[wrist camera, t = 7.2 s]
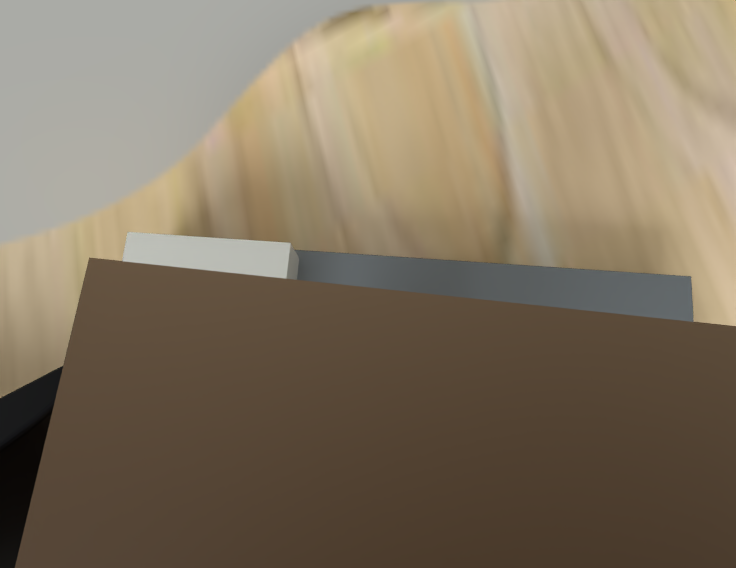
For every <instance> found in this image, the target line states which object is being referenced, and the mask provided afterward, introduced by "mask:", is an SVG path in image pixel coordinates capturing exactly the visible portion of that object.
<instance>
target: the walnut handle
mask: <svg viewBox="0 0 736 568" xmlns="http://www.w3.org/2000/svg"><path fill="white" fill-rule="evenodd" d="M15 568H736V326H728V325H719V324H709V323H700V322H690V321H681V320H671V319H662V318H653V317H643V316H634V315H624V314H615V313H605V312H596V311H587V310H577V309H568V308H558V307H549V306H539V305H530V304H521V303H511V302H502V301H492V300H483V299H473V298H464V297H455V296H445V295H436V294H426V293H417V292H408V291H398V290H389V289H379V288H370V287H360V286H351V285H342V284H332V283H323V282H313V281H304V280H294V279H285V278H276V277H266V276H257V275H247V274H238V273H228V272H219V271H210V270H200V269H191V268H181V267H172V266H163V265H153V264H144V263H134V262H125V261H115V260H106V259H97V258H89V261H88V266H87V270H86V274H85V278H84V282H83V286H82V290H81V295H80V299H79V303H78V307H77V311H76V315H75V320H74V324H73V328H72V332H71V336H70V340H69V345H68V349H67V353H66V357H65V361H64V365H63V369H62V374H61V378H60V382H59V386H58V390H57V394H56V399H55V403H54V407H53V411H52V415H51V419H50V424H49V428H48V432H47V436H46V440H45V444H44V448H43V453H42V457H41V461H40V465H39V469H38V473H37V478H36V482H35V486H34V490H33V494H32V498H31V502H30V507H29V511H28V515H27V519H26V523H25V527H24V532H23V536H22V540H21V544H20V548H19V552H18V557H17V561H16V565H15Z"/></svg>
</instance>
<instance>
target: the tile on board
mask: <svg viewBox="0 0 736 568" xmlns="http://www.w3.org/2000/svg"><path fill="white" fill-rule="evenodd" d="M122 261H125V262H134V263H144V264H153V265H163V266H172V267H181V268H191V269H200V270H210V271H219V272H228V273H238V274H247V275H257V276H266V277H276V278H285V279H294V280H297V274H298V265H299V257H298V255H297V253H296V252H295V250H294V248H293V246H292V244H291V243H286V242H271V241H256V240H240V239H225V238H210V237H195V236H180V235H165V234H150V233H135V232H128V233H127V238H126V244H125V249H124V254H123V260H122Z"/></svg>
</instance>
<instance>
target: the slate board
mask: <svg viewBox="0 0 736 568" xmlns="http://www.w3.org/2000/svg"><path fill="white" fill-rule="evenodd" d="M295 252H296V253H297V255H298V257H299V265H298V274H297V280H304V281H313V282H323V283H332V284H342V285H351V286H360V287H370V288H379V289H389V290H398V291H408V292H417V293H426V294H436V295H445V296H455V297H464V298H473V299H483V300H492V301H502V302H511V303H521V304H530V305H539V306H549V307H558V308H568V309H577V310H587V311H596V312H605V313H615V314H624V315H634V316H643V317H653V318H662V319H671V320H681V321H690V322H693V304H692V285H691V276H676V275H661V274H646V273H631V272H616V271H601V270H587V269H572V268H557V267H542V266H527V265H512V264H497V263H482V262H468V261H453V260H438V259H423V258H408V257H393V256H378V255H363V254H349V253H334V252H319V251H304V250H295Z"/></svg>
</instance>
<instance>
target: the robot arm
mask: <svg viewBox="0 0 736 568" xmlns="http://www.w3.org/2000/svg"><path fill="white" fill-rule="evenodd" d="M62 369H63V366H62V367H60V368H58V369H56V370H54V371H52V372H50V373H48V374H46V375H44V376H42V377H40V378H39V379H37V380H35V381H33V382H31V383H29V384H27V385H25V386H23V387H21V388H19V389H17V390H15V391H13V392H11V393H10V394H8V395H6V396H4V397H2V398H0V568H15V565H16V561H17V557H18V552H19V548H20V544H21V540H22V536H23V532H24V527H25V523H26V519H27V515H28V511H29V507H30V502H31V498H32V494H33V490H34V486H35V482H36V478H37V473H38V469H39V465H40V461H41V457H42V453H43V448H44V444H45V440H46V436H47V432H48V428H49V424H50V419H51V415H52V411H53V407H54V403H55V399H56V394H57V390H58V386H59V382H60V378H61V374H62Z"/></svg>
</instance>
